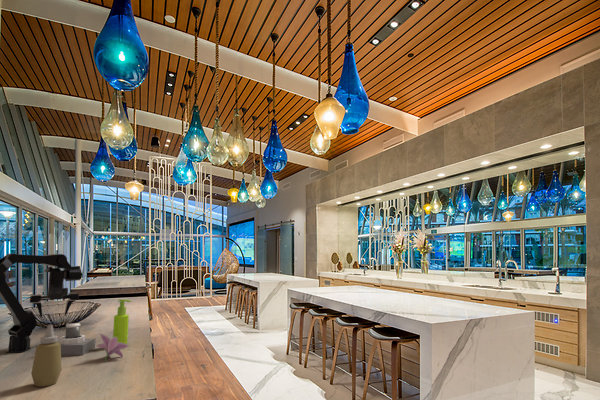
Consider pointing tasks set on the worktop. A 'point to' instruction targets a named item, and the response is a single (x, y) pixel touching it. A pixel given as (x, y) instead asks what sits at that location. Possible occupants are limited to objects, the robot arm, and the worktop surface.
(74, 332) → the grey block
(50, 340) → the squeeze bottle
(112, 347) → the lily
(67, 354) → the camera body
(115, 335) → the soap dispenser
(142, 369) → the worktop surface
